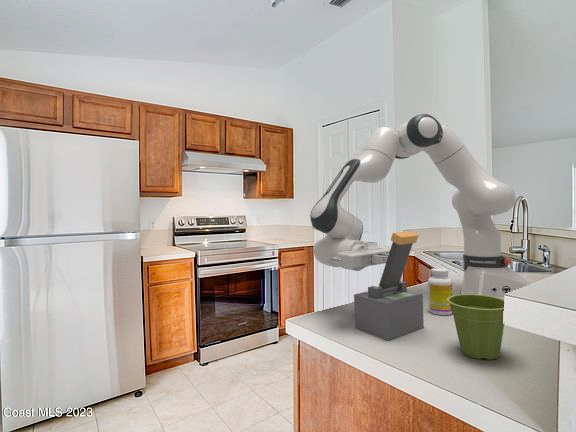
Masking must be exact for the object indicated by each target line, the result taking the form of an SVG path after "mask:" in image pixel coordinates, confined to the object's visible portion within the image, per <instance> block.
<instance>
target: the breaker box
mask: <svg viewBox="0 0 576 432" xmlns="http://www.w3.org/2000/svg"><path fill="white" fill-rule="evenodd" d="M407 284H408V282H407V281H401V280H400V283H399V285H398V290H396V291H392V292H388V293H384V294H382V288H380V287H379V286H377V285H375V286H374V285H372V286H367V291H363V292H358V293H355V294H353V304H354V305H353V306H354V308H353V309H354V328H355V329H357V330H359V331H362V332H365V333H366V334H369V335H372V336H375V337H377V338H380V339H383V340H385V341H389V342H390V341H392V340H395V339H397V338H400V337H402V336H405V335H407V334H411V333H414V332H416V331H419V330H422V329H424V328H425V326H424V325H425V324H424V322H425V321H424V294H423V293H422V292H417V291H412V290H408V285H407Z"/></svg>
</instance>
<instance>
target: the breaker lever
mask: <svg viewBox="0 0 576 432" xmlns="http://www.w3.org/2000/svg"><path fill="white" fill-rule="evenodd" d="M418 239H419V235H418V234H417V233H414V232H413V231H410V230H409V231H408V230H407V231H399V232H398V231H396V232H392V235H391V237H390V241H391V242H392V243H391V249H390V252H389V255H388V259H387V262H386V263H385V265H384V269H383V271H382V275H381V278H380V279H379V284H378V287H380V288H382V294H384V293H388V292H392V291H396V290H398V285H399V283H400V281H401V279H402V276H403V274H404V271H405V267H406V266H407V262H408V259H409V256H410V253H411V250H412V246H413V244H414V243H415V244H416V243H417V241H418Z"/></svg>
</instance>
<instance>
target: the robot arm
mask: <svg viewBox="0 0 576 432" xmlns="http://www.w3.org/2000/svg"><path fill="white" fill-rule="evenodd" d="M421 152H424V153H426V154H427V155H428V156H429V159H431V161H432V162H433V164H434V166H435V167H436V169H437V170H438V172H439V173H440V174H441V175H442V177H443V179H445V181H446V183H448V184H450V185H452V186H454V187H455V188H456V189H457V190H456V191H455V192H454V193H453V195H452V197H451V205H452V207H453V209H454V210H455V211H456V213H457V215H458V218H459V221H460V224H461V228H462V233H463V247H464V249H463V251H464V253H463V255H462V268H463V280H462V285H461V289H460V293H459V294H478V295H487V296H493V297H498V298H501V299H504V295H505V294H506V293H508V292H511V291H513V290H516V289H519V288H522V287H524V286H527V285H529V282H528V280H527V279H526V278H524V277H523V276H522V275H520V274H519V273H518V272H516V271H515V270H514V269H512V268H511V267H509V266H511V264H512V262H513V260H512V259H511V258H509V257H506V256H504V255H502V246H501V245H502V244H501V243H502V241H501V239H502V238H501V237H502V236H501V235H502V234H501V233H500V230H499V229H498V228H497V227H496V225H495V224H494V222H493V217H492V216H497V215H501V214H504V213H507V212H509V211H510V210H511V209H512V208H513V207H514V206H515V203H516V199H517V198H516V193H515V191H514V189H513V188H512V187H511V186H510V185H508V184H507V183H503V182H502V181H500V180H498V179H497V178H496V177H494V176H493V175H491V174H490V173H489V172H488V171H487V170H485V168H483V166H482V165H480V163H478V161H477V160H476V159H475V158H474V156H473V154H471V152H470V151H469V148H468V147H466V145H465V144H464V142H463V141H462V140H461V138H460V137H459V136H458V135H457V134H456V133H455V132H454V131H453V130H452V129H451V128H450V127H449V126H448V125H446V124H441V123H440V122H439V121H438V119H437V118H436V117H434V116H432V115H431V114H427V113H422V114H421V113H420V114H418V115H416V116H413V117H411V118H410V119H409V120H407V121H405V122H403V123H402V124H401V125H399V127H398V128H397V129H396V130H395V129H393V128H392V127H389V126H379V127H377V128H376V129H374V131H372V133H371V134H370V136H369V137H368V139H367V140H366V142H365V144H364V146H363V147H362V150H361V152H360V153H359V155H358V157H356V158H353V159H350V160H348V161H347V162H346V163H345V165H344V166H343V167H342V168H341V169H340V170H339V173H338V174H337V176H336V177H335V178H334V180H333V181H332V183H331V184H330V185H329V186H328V189H327V190H326V191H325V193H324V194H323V195H322V197H321V198H320V199H319V200H318V201H317V202H316V204H314V206H313V207H312V209H311V211H310V223H311V226H312V227H313V229H315V230H316V231H319V232H321V233H323V234H325V236H324V237H322V238H321V239H318V240H317V241H316V242H315V243H314V245H313V247H312V248H313V255H314V257H315V259H316V260H317V261H318V262H319V263H320V264H322V265H325V266H328V267H331V268H332V267H333V268H339V267H340V268H342V269H344V270H349V271H356V272H359V271H362V270H363V269H366V268H367V267H371V266H376V265H378V266H379V265H382V264H383V265H384V264H386V262H387V259H388V255H389V252H390V249H391V246H392V245H391V246H390V245H385V244H378V242H374V241H363V240H361V239H362V237H363V233H364V226H363V225H364V224H363V222H362V221H361V220H360V219H359V218H358V217H356V216H355V215H354V214H353V213H351V212H349V211H347V210H346V209H344V208H343V207H342V206H341V201H342V199H343V198H344V196H345V195H346V193H347V192H348V191H349V188H350V187H351V186H352V184H353V183H354V182H356V181H357V182H362V183H366V184H367V183H368V184H371V183H372V184H373V183H374V184H375V183H378V182H380V181H382V180H384V179H385V178H386V177H387V176H388V174H389V172H390V170H391V169H392V166H393V164H394V161H395V159H397V160H405V159H407V158H410V157H412V156H414V155H417V154H419V153H421Z"/></svg>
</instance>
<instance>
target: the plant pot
mask: <svg viewBox="0 0 576 432" xmlns="http://www.w3.org/2000/svg"><path fill="white" fill-rule="evenodd" d="M447 302H448V303H450V307H451V311H452V316H453V319H454V325H455V328H456V334H457V339H458V344H459V349H460V350H461V352H462V353H463V354H464V355H466V356H468V357H471V358H474V359H479V360H480V359H486V360H496V359H499V357H500V355H501V350H502V341H503V335H504V328H505V323H504V324H503V311H504V299H501V298H498V297H493V296H487V295H478V294H461V293H459V294H453V296H450V297H448V298H447Z"/></svg>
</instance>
